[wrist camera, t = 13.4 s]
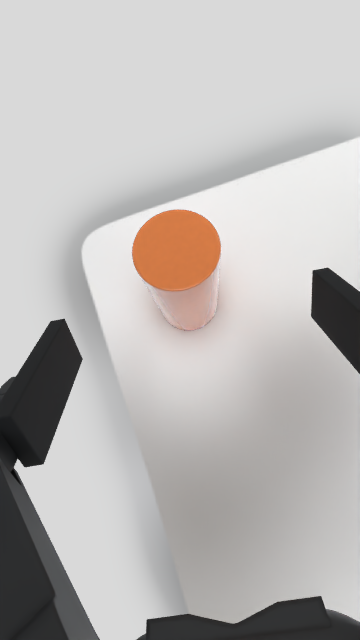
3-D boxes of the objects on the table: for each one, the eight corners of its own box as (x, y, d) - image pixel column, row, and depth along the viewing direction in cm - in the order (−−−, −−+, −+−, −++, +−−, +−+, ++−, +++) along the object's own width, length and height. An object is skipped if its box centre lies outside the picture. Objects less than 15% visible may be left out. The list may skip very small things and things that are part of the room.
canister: (165, 335, 25) (138, 299, 16) (157, 282, 27) (126, 219, 17) (222, 324, 25) (229, 281, 16) (211, 272, 26) (211, 200, 17)
